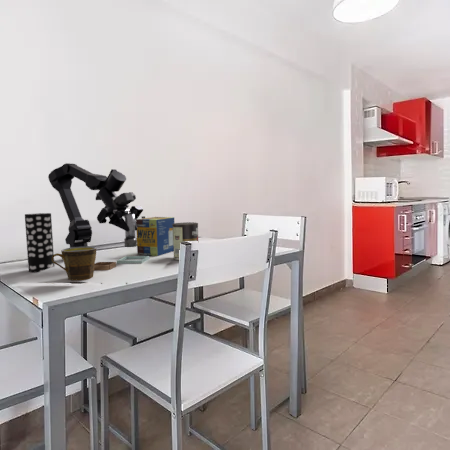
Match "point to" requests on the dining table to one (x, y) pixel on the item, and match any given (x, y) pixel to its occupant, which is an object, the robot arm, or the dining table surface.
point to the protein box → (154, 236)
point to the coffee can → (183, 235)
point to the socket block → (104, 265)
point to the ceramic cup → (78, 263)
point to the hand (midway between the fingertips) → (132, 230)
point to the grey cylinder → (130, 231)
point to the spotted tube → (39, 241)
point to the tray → (123, 260)
